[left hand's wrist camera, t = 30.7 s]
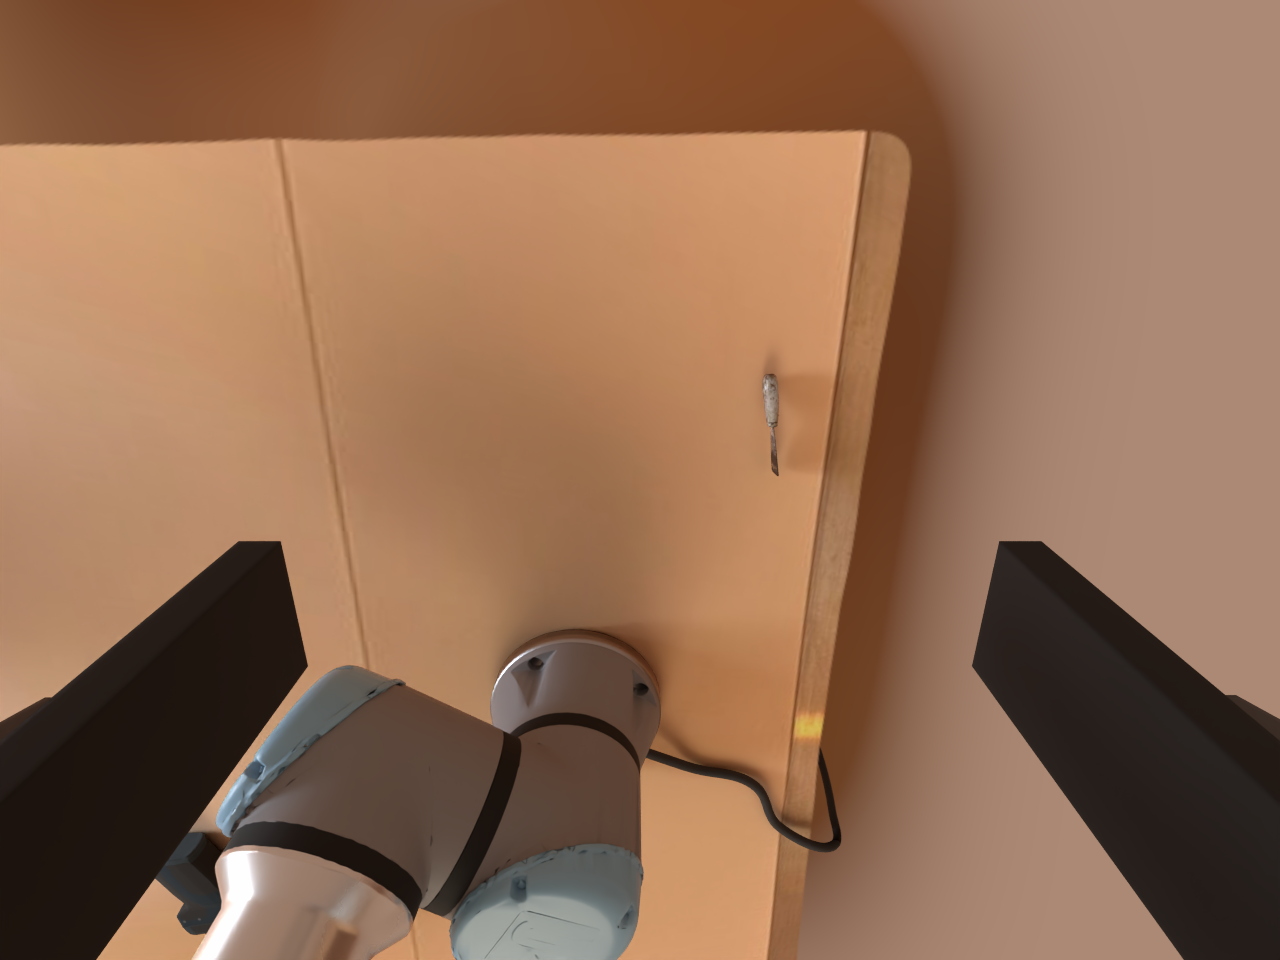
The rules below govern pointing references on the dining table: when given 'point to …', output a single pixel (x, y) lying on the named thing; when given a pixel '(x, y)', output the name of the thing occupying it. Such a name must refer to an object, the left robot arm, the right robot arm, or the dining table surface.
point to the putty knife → (771, 412)
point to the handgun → (194, 882)
